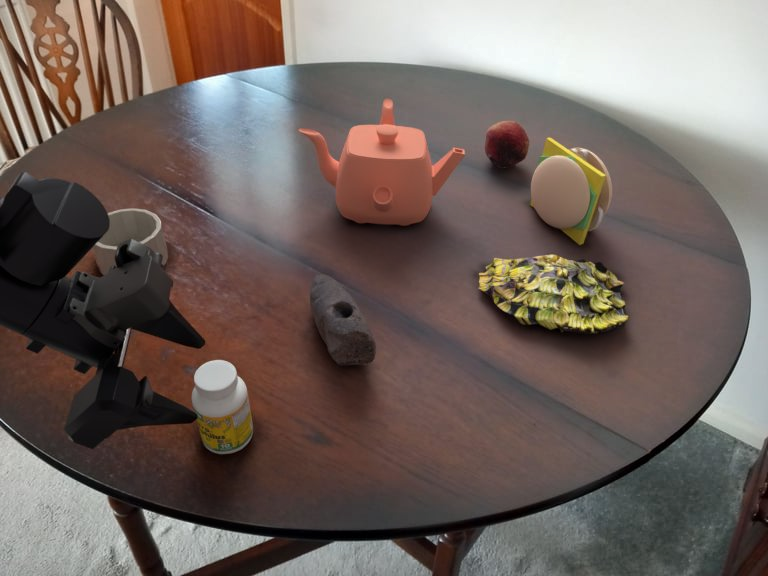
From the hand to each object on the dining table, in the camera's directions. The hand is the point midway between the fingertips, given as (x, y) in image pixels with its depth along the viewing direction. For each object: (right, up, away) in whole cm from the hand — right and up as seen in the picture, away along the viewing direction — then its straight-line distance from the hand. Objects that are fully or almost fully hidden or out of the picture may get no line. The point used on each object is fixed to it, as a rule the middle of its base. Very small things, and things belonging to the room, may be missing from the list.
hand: (199, 380), depth 59 cm
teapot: (+17, +22, +40) cm, 49 cm away
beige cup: (-17, +13, +27) cm, 34 cm away
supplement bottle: (+1, -7, +6) cm, 9 cm away
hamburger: (+46, +19, +39) cm, 64 cm away
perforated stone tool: (+12, +3, +18) cm, 22 cm away
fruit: (+39, +31, +52) cm, 72 cm away
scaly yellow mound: (+40, +8, +26) cm, 49 cm away
